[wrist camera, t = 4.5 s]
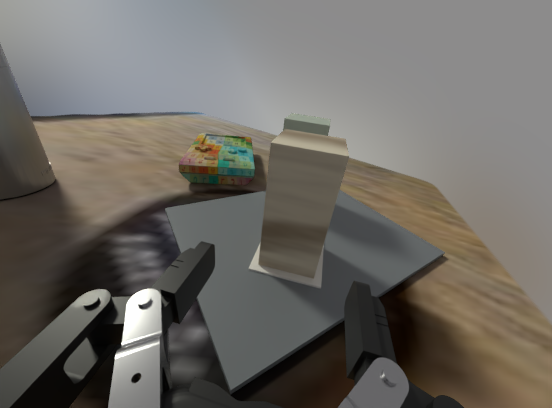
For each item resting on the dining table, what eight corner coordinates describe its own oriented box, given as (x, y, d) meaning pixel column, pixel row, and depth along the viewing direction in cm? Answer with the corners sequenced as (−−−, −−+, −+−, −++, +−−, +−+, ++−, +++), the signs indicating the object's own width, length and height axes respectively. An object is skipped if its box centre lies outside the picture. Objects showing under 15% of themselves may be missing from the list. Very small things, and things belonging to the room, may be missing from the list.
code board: (230, 394, 14) (230, 388, 13) (165, 212, 29) (164, 206, 29) (442, 256, 28) (445, 250, 27) (323, 183, 43) (324, 179, 43)
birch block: (313, 278, 21) (349, 156, 15) (258, 264, 22) (270, 142, 16) (317, 242, 26) (345, 138, 20) (271, 232, 27) (285, 128, 21)
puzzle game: (178, 158, 34) (199, 129, 51) (181, 186, 36) (200, 149, 53) (255, 163, 36) (251, 133, 53) (253, 190, 38) (250, 153, 55)
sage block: (310, 211, 32) (329, 125, 26) (273, 203, 33) (284, 118, 27) (313, 194, 37) (330, 119, 31) (281, 188, 38) (291, 113, 32)
